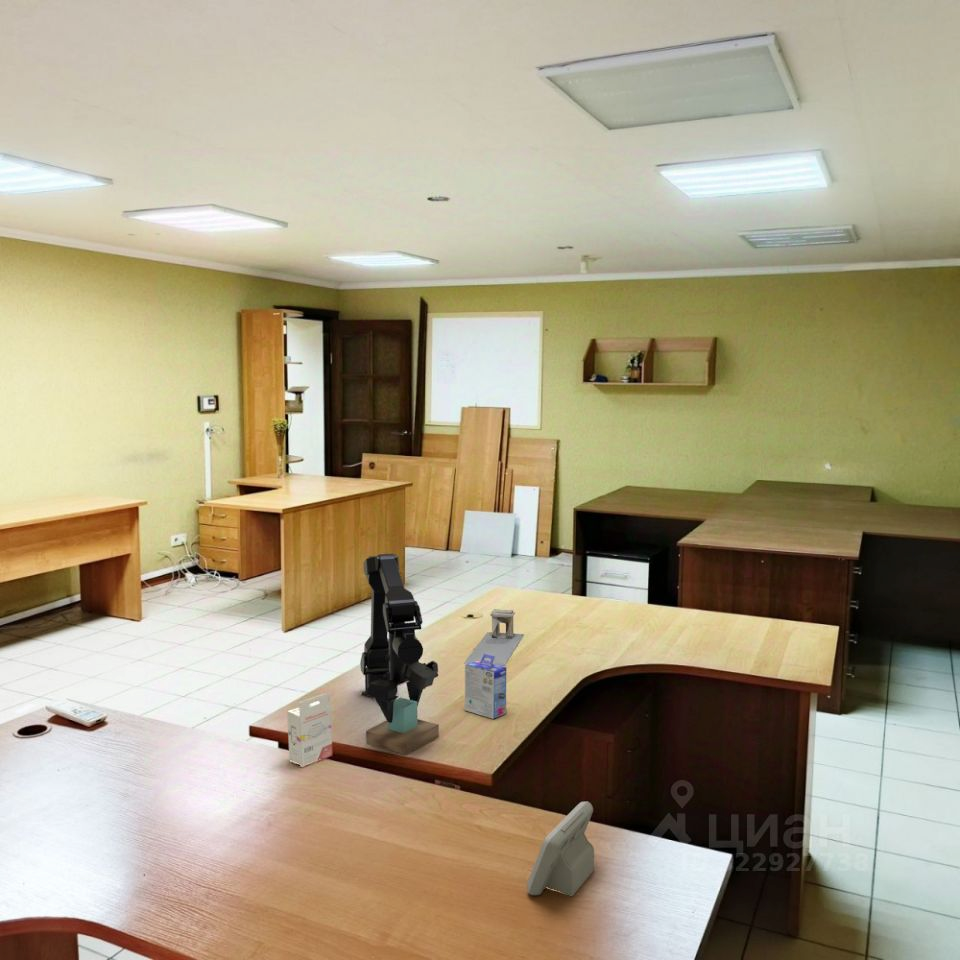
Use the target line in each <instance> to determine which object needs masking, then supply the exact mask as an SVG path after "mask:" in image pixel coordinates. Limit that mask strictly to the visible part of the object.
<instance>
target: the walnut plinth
mask: <svg viewBox="0 0 960 960" xmlns="http://www.w3.org/2000/svg"><path fill="white" fill-rule="evenodd" d="M417 720H418V726H417V727H415V728H413V729H412V730H410V731H408V732H406V733H401V732H397V731H393V730H389V729H387V720H386V719H385V721H383V722H380V723H379V724H377V725H375V726H373V727H371V728H369V729H367V730H366V731H365V735H366V737H365V740H366V744H367V745H371V746H375V747H378V748H381V749H385V750H389V751H392V752H395V753H398V754H399V753H400V754H403V755H406V756H408V755H410V754H411V753H413V752H415V751H417V750H419V749H421V748H422V747H423V746H426V745H427V744H429V743H430V742H432V741H434V740H436V739H438V738H439V737H440V732H439V730H440V726H439V725H440V724H439V723H435V722H431V721H426V720H422V719H419V718H417Z"/></svg>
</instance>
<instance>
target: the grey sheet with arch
mask: <svg viewBox="0 0 960 960" xmlns="http://www.w3.org/2000/svg"><path fill="white" fill-rule="evenodd" d="M515 614H516V612H515V611H514V609H500V608H499V609H498V608H494V609H493V610H491V613H490V614H489V615H490V617H491V631H488V632H487V631H486V634H485V635H484V636H483V637H482V638H481V640H480V641H479V642H478V644H477V645H476V646H475V648H474V649H473V650H472V652H471V653H470V654H469V655H468V656H467V658H466V659H465V661H463V664H465V665H466V664H468V663H471V662H474V661H481V660H482V657H483V655H484V654H487V655H491V656H495V658H494V661H493V664H495V665H500V666H504V667H506V664H507V663H508V662H509V659H510V658H511V656H512V655H513V653H514V652H515V650H516V649H517V647H518V646H519V644H520V642H521V641H522V640H523V637H524V636H525V635H524V633H514V616H515ZM500 624H505V632H500V630H501V629H500V627H501V625H500ZM484 660H486V661H490V662H491V659H490V658H484Z"/></svg>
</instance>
